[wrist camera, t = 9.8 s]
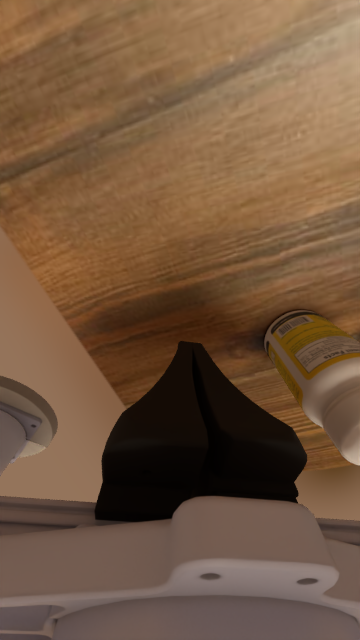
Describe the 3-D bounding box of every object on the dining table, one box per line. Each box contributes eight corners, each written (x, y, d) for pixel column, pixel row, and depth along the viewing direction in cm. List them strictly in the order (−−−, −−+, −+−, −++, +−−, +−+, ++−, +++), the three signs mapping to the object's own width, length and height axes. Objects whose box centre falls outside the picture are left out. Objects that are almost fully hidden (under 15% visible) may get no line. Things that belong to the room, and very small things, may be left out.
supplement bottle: (306, 365, 17) (400, 479, 10) (253, 354, 17) (310, 465, 9) (338, 315, 15) (489, 412, 8) (279, 301, 15) (378, 390, 7)
